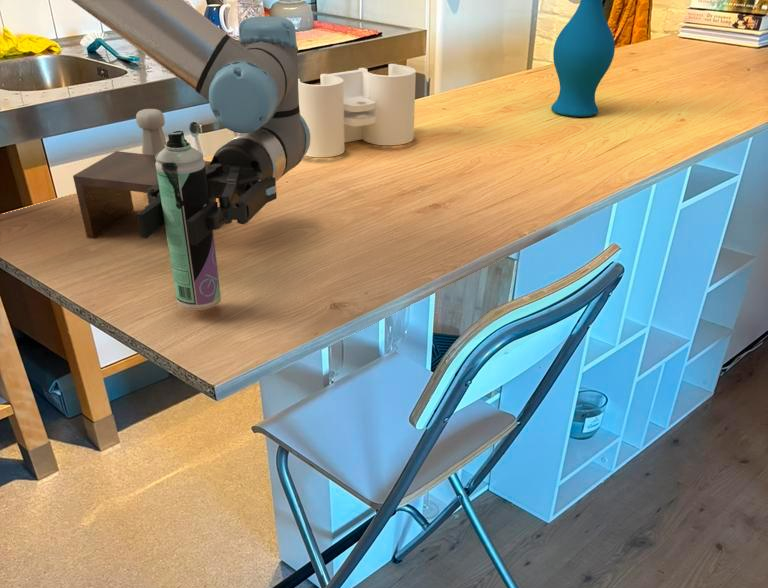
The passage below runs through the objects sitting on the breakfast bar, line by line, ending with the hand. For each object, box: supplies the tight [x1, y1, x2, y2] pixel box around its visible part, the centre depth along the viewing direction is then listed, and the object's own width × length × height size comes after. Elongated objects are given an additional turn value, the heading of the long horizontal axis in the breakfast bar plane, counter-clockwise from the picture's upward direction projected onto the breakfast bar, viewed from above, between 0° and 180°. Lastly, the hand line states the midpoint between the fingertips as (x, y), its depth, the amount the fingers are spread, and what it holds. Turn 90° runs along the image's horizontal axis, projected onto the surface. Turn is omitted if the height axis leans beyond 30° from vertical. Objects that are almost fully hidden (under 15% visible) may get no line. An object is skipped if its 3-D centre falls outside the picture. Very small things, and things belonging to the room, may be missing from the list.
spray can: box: [155, 130, 222, 311], centre depth 96 cm, size 6×6×20 cm
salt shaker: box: [135, 108, 167, 155], centre depth 132 cm, size 6×6×13 cm
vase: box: [550, 0, 616, 118], centre depth 169 cm, size 12×13×28 cm
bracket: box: [298, 63, 417, 158], centre depth 154 cm, size 25×10×12 cm, turn 124°
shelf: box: [72, 150, 217, 239], centre depth 121 cm, size 16×12×9 cm
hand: (166, 229), depth 92 cm, fingers closed on spray can, 5 cm apart
